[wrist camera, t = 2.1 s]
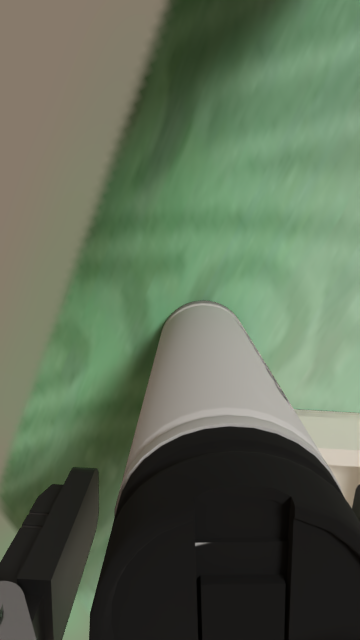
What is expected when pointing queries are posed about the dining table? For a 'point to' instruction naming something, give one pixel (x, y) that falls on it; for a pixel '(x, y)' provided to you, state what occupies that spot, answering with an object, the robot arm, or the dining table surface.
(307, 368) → the dining table surface
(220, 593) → the travel mug
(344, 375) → the dining table surface
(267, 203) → the dining table surface
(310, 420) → the bin
